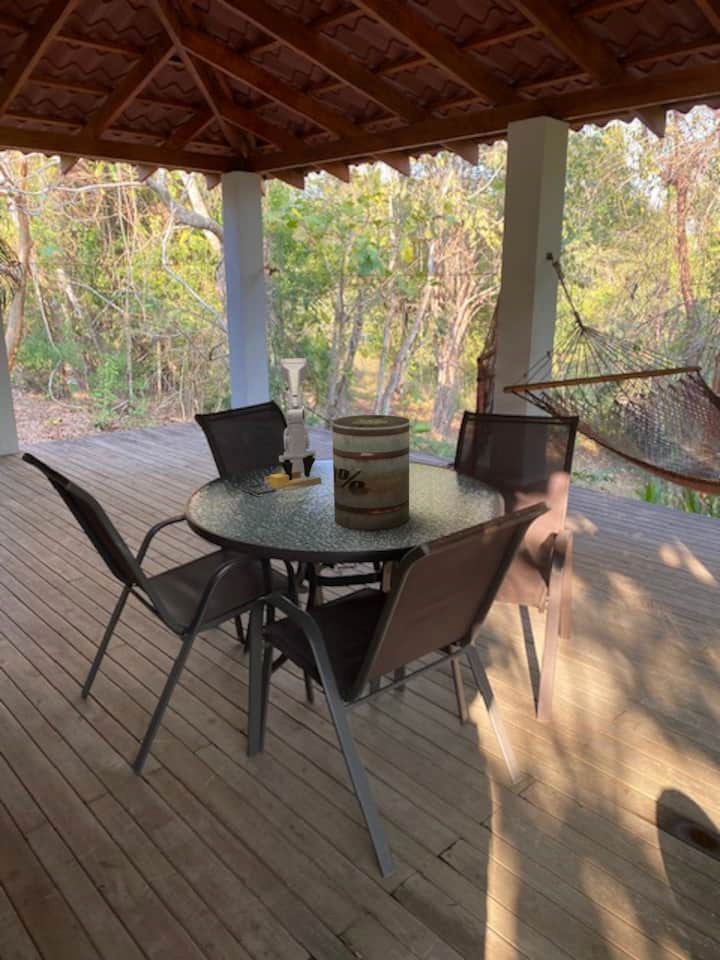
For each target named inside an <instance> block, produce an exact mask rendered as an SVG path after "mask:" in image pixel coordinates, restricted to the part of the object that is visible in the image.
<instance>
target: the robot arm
mask: <svg viewBox="0 0 720 960" xmlns="http://www.w3.org/2000/svg"><path fill="white" fill-rule="evenodd" d="M307 369H308V366H307V359H306V357H302V358H301V357H299V358H295V357H294V358H292V357H291V358H283V357H281V359H280V374H281V375H280V377H281V379H282V381H283V382H285V383H286V384H287V386H288V393H287V395H286V398H287V399H286V400H287V411H286V423H287V427H285V428H284V431H283V449H284V452H283V454H282V455H278V461H279V463H280V466H281V467H282V468H283V471H284V473H286V475H289V481H291V480H292V472H294V471H301V474H303V473H304V477H305V478H310V475H311V472H312V468H313V465H314V463H315V461H316V458H315V457H316V455H317V454H316V450H309V449H310V434H309V432H310V430H309V429H308V428H307V427H306V426H305V424H306V409H305V406H304V395H303V393H302V392H301V385H302V382H304V381H306V380H307V372H308V370H307Z"/></svg>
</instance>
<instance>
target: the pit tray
mask: <svg viewBox="0 0 720 960" xmlns="http://www.w3.org/2000/svg"><path fill="white" fill-rule="evenodd" d="M260 485H261V483H255V484H249V485H246V486H241V487H242V488H244V489H246V490H248V491H251V492H253V493H255V494H257V495H260V494H263V495H266V494H270V493H275V492H276V488H275V489H274V488H273V489H269V490H264V491H263V490H262V491H256V490H254V489H252V488H255V487H254V486H257V487H261V486H262V485H261V486H260ZM248 487H252V488H248ZM242 488H241V489H242Z"/></svg>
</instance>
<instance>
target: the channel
mask: <svg viewBox="0 0 720 960" xmlns="http://www.w3.org/2000/svg"><path fill="white" fill-rule="evenodd" d="M283 474H286V473H285V472H284V473H283ZM301 474H302V473H301V471H294V472H292V480H291V481H289V483H286V484H284V487H283V491H285V492H286V491H293V490H296V489H297V490H298V489H301V488H306V487H313V486H316V485H321V484H322V478H321V477H320V476H317V477H311V478H307V477H304V476H302V475H301ZM263 480H264V484H265V485H266V484H270V475H268V476H264V479H263Z"/></svg>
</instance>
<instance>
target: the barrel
mask: <svg viewBox="0 0 720 960" xmlns="http://www.w3.org/2000/svg"><path fill="white" fill-rule="evenodd" d="M331 423H332V425H331V430H332V431H331V433H332V434H331V435H332V466H333V467H332V469H333V473H332V474H333V500H334V501H333V503H334V504H333V507H334V508H333V509H334V522H335V524H336V523H337V524H338V526H339V525H340V526H339V527H341V526H342V527H341V528H343V527H345V528H344V529H346V528H349V529H348V530H351V529H354V530H353V531H356V530H364V531H363V532H381V531H380V530H385V531H389V529H391V530H395V529H394V528H396V529H399V528H401V527H400V526H402V527H404V526H406V525H407V524H408V523H409V522H410V419H408V418H406V417H402V416H396V415H388V414H387V415H386V414H364V415H363V414H361V415H350V416H343V417H342V416H341V417H339V418H335V419H333V420H332V421H331ZM408 521H409V522H408ZM407 522H408V523H407ZM406 523H407V524H406ZM337 524H336V525H337ZM405 524H406V525H405ZM403 525H404V526H403ZM398 527H399V528H398Z"/></svg>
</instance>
